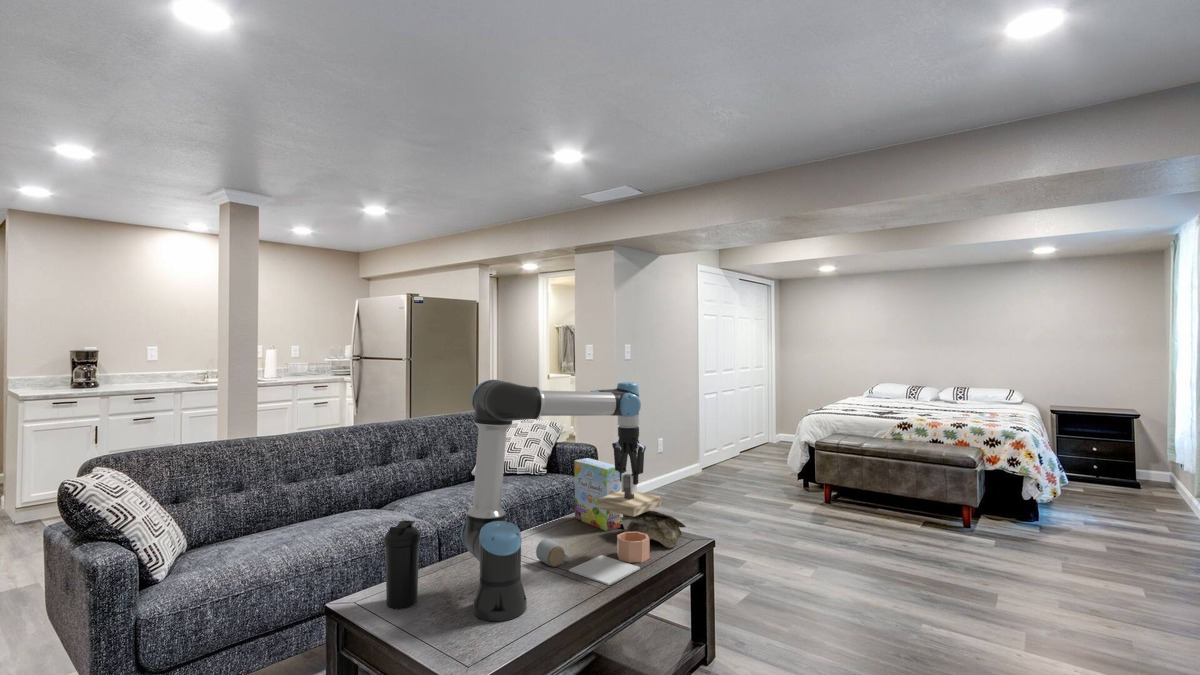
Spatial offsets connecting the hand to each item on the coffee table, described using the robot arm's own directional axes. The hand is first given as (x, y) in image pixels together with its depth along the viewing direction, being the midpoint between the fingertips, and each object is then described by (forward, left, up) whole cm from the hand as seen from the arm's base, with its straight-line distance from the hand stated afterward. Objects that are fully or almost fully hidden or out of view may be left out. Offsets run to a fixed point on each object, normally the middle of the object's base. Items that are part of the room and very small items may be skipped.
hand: (629, 492), depth 202 cm
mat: (-13, 0, -23) cm, 27 cm away
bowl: (+3, 0, -23) cm, 24 cm away
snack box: (+23, +34, -24) cm, 47 cm away
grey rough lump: (+22, +6, -24) cm, 33 cm away
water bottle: (-70, +30, -24) cm, 80 cm away
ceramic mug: (-20, +18, -24) cm, 36 cm away
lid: (0, 0, -5) cm, 5 cm away
